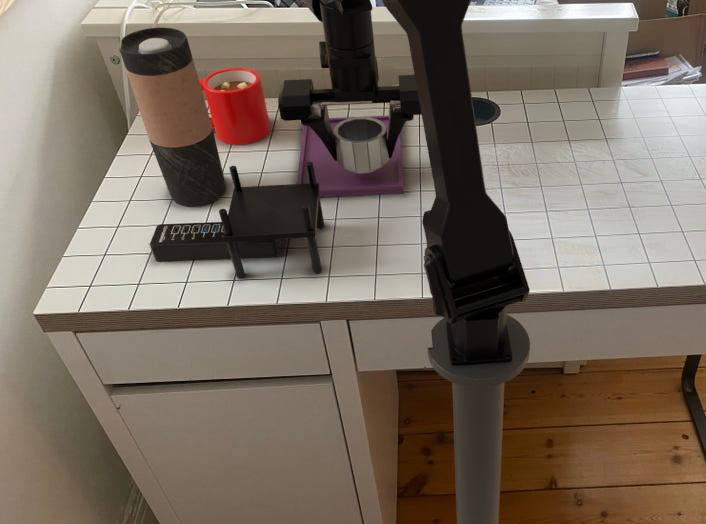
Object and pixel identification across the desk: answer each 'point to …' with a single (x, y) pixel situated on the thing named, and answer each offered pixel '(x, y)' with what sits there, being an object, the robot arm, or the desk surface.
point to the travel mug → (174, 114)
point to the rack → (273, 216)
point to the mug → (236, 105)
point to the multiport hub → (203, 243)
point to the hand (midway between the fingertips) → (363, 157)
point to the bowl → (361, 144)
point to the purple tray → (340, 180)
